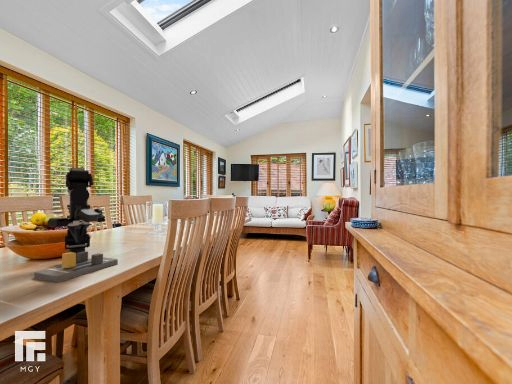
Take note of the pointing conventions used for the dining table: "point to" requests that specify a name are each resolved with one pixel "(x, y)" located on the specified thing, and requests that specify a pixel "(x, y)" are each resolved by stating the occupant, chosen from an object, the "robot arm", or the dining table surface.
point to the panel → (76, 267)
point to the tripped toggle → (68, 260)
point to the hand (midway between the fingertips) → (78, 242)
